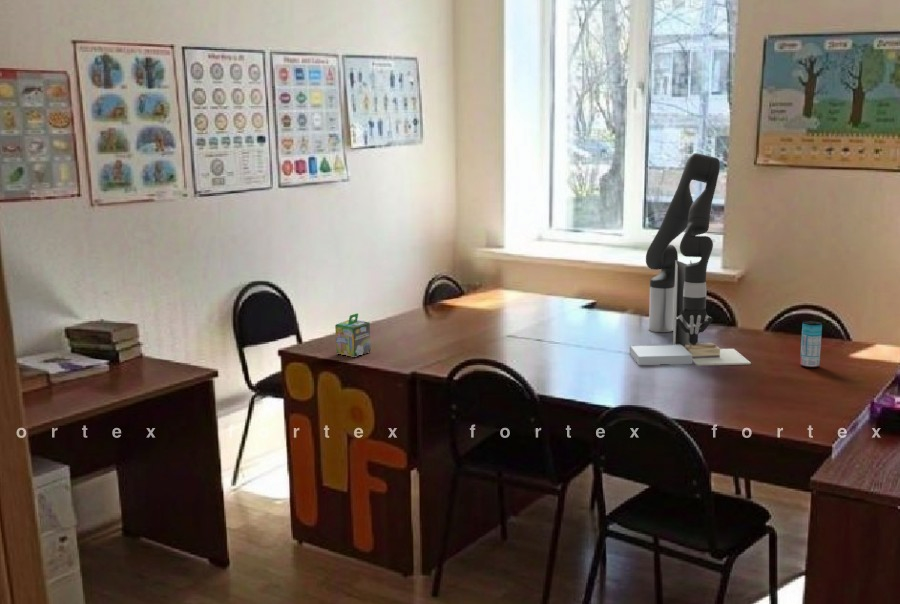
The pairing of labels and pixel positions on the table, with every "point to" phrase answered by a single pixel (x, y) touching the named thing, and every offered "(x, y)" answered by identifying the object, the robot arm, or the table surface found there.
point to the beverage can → (811, 343)
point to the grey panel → (679, 305)
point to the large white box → (660, 354)
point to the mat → (723, 359)
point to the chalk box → (353, 337)
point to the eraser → (703, 350)
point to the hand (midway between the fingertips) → (692, 344)
